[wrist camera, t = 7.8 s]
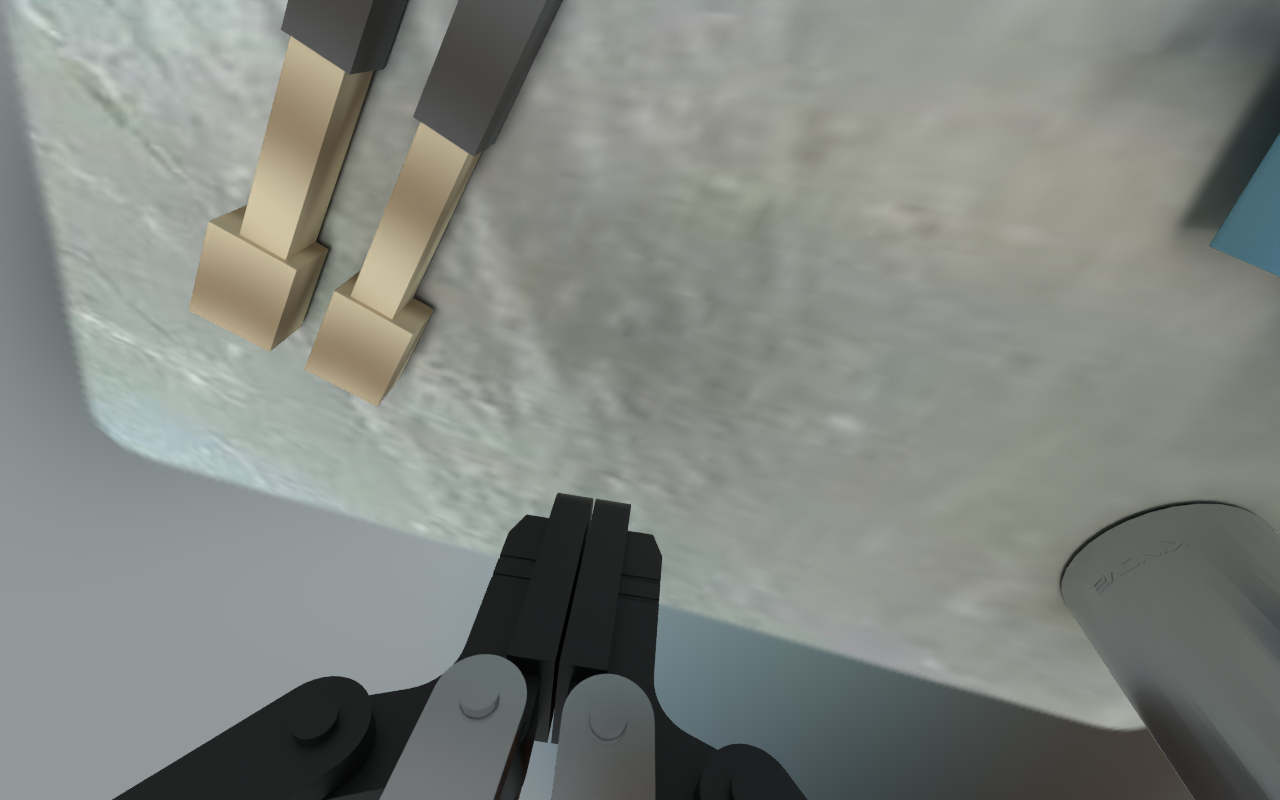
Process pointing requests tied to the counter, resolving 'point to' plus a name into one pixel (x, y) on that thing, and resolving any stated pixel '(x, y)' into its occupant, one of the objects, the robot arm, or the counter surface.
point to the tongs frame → (294, 171)
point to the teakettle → (1256, 218)
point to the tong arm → (428, 192)
